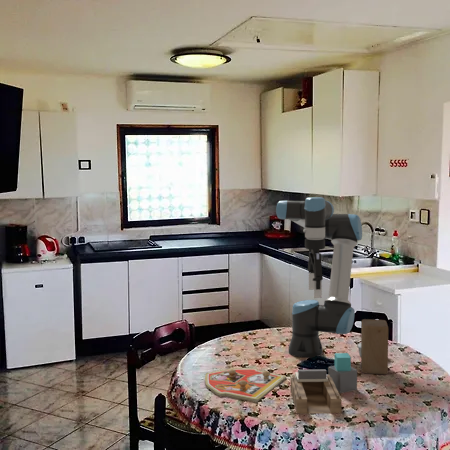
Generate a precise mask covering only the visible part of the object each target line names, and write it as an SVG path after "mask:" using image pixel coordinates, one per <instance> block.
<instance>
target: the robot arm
mask: <svg viewBox="0 0 450 450" xmlns="http://www.w3.org/2000/svg"><path fill="white" fill-rule="evenodd" d="M275 208H276V209H275V213H276V214H275V215H276V216H277V219H279V220H289V221H292V222H294V223H295V224H297V225H298V226H300V227H303V233H304V238H305V239H304V247H305V249H306V250H308V263H307V265H308V266H307V270H308V271H307V272H308V290H309V291H312V290H313V298H314V299H305V300H300V301H297V302H295V303H293V305H292V309H291V310H292V311H291V312H292V313H291V315H292V316H291V319H292V321H291V322H292V325H291V328H292V334H291V335H292V336H291V339H290V341H289V345H288V353H289V354H290V355H291V356H294V357H297V358H298V357H299V358H306V359H311V358H316V357H315V356H317V357H320V356H322V355H323V353H324V352H323V351H324V350H323V345H322V342H321V339H320V336H319V332H321V333H330V334H337V335H347V334H349V333H350V331H352V328H353V325H354V321H355V313H356V312H355V309H354V307H352V303H351V302H350V300H349V297H350V296H349V295H350V285H351V276H352V267H353V266H352V265H353V255H354V248H355V247H356V246H357V245H358V241H361V240H362V239H363V226H362V225H363V224H362V221H361V218H360V216H359V215H358V214H353V213H351V214H350V213H334V212H335V208H334V205H333V203H331V202H330V201H329V200H326V199H325V198H324V197H319V196H312V197H306V198H305V200H279V201H278V202H277V204H276V207H275ZM327 239H329V240H330V242H331V244H332V245H333V252H332V259H331V260H332V262H331V270H330V271H331V272H330V279H329V290H328V296H327V298H326V299H324V301H323V303H324V304H320V302H319V301H318V300H316V299H321V298H322V295H323V293H322V292H323V291H322V290H323V289H322V287H323V285H322V282H323V281H322V280H323V279H324V278H323V267H322V266H323V265H322V253H320V250H325V248H326V240H327Z"/></svg>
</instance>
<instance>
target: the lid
mask: <svg viewBox="0 0 450 450" xmlns="http://www.w3.org/2000/svg"><path fill="white" fill-rule="evenodd" d="M297 370H298V371H295V372H294V375H295V378H296V379H297V382H328V378H327V370H326V369H322V368H321V369H320V368H319V369H318V368H317V369H297Z"/></svg>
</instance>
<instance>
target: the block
mask: <svg viewBox="0 0 450 450" xmlns="http://www.w3.org/2000/svg"><path fill="white" fill-rule="evenodd" d="M351 364H352V357H351V356H350V354H349V353H348V352H343V353H341V352H339V353H336V352H335V353H334V366H335V368H336V370H337V371H351V367H352V366H351Z"/></svg>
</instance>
